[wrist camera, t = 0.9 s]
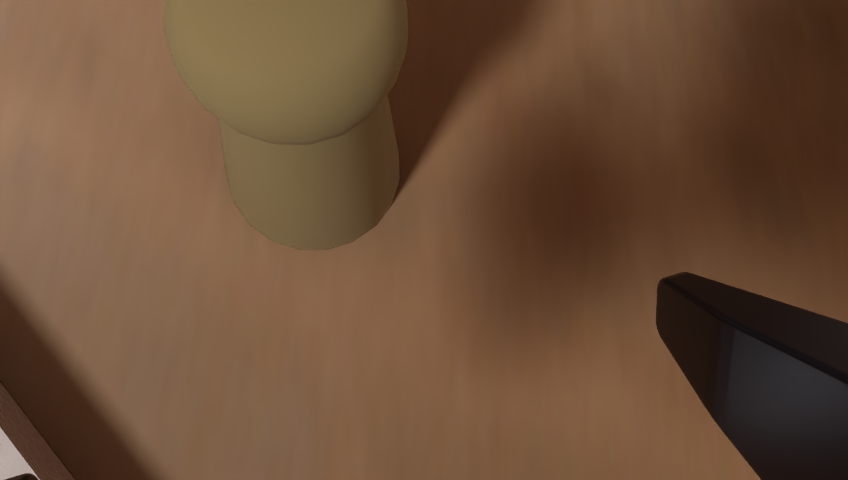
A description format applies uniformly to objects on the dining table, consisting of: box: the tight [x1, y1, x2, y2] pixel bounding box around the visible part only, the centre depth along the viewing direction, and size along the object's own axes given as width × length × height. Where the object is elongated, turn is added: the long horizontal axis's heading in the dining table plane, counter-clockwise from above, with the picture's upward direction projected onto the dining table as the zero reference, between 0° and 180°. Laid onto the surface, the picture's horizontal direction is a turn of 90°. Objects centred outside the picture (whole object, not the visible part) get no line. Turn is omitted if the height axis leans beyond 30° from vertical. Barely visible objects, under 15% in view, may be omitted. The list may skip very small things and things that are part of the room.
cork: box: [164, 0, 408, 250], centre depth 19 cm, size 6×6×11 cm
